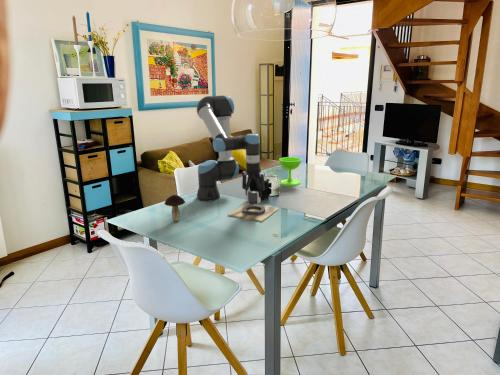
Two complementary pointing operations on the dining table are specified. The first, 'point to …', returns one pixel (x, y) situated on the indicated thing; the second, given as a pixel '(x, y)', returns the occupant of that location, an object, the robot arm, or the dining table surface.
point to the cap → (252, 197)
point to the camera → (268, 186)
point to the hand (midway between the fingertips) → (253, 201)
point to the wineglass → (290, 164)
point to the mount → (253, 212)
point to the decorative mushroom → (175, 206)
